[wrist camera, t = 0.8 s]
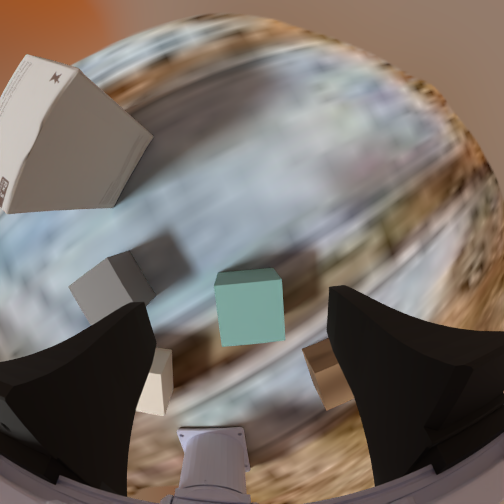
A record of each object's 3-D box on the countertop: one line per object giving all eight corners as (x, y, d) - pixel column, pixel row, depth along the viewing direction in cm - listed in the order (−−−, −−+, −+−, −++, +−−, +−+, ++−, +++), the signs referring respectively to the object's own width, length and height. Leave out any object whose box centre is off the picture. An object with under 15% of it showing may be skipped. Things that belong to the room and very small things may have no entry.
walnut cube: (354, 366, 27) (372, 389, 22) (313, 383, 27) (326, 410, 22) (345, 330, 26) (366, 350, 21) (301, 348, 26) (314, 373, 21)
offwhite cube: (173, 388, 26) (164, 416, 21) (130, 380, 26) (116, 406, 21) (172, 349, 25) (160, 374, 21) (126, 342, 25) (108, 364, 20)
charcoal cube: (156, 295, 25) (139, 312, 20) (119, 317, 25) (98, 336, 20) (129, 250, 24) (107, 257, 19) (93, 275, 24) (68, 286, 19)
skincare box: (113, 115, 22) (28, 45, 7) (158, 138, 23) (82, 60, 8) (72, 187, 23) (-37, 171, 8) (113, 215, 23) (1, 216, 9)
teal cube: (276, 318, 26) (285, 340, 21) (223, 323, 25) (222, 346, 21) (272, 267, 25) (281, 279, 20) (218, 272, 25) (213, 285, 20)
